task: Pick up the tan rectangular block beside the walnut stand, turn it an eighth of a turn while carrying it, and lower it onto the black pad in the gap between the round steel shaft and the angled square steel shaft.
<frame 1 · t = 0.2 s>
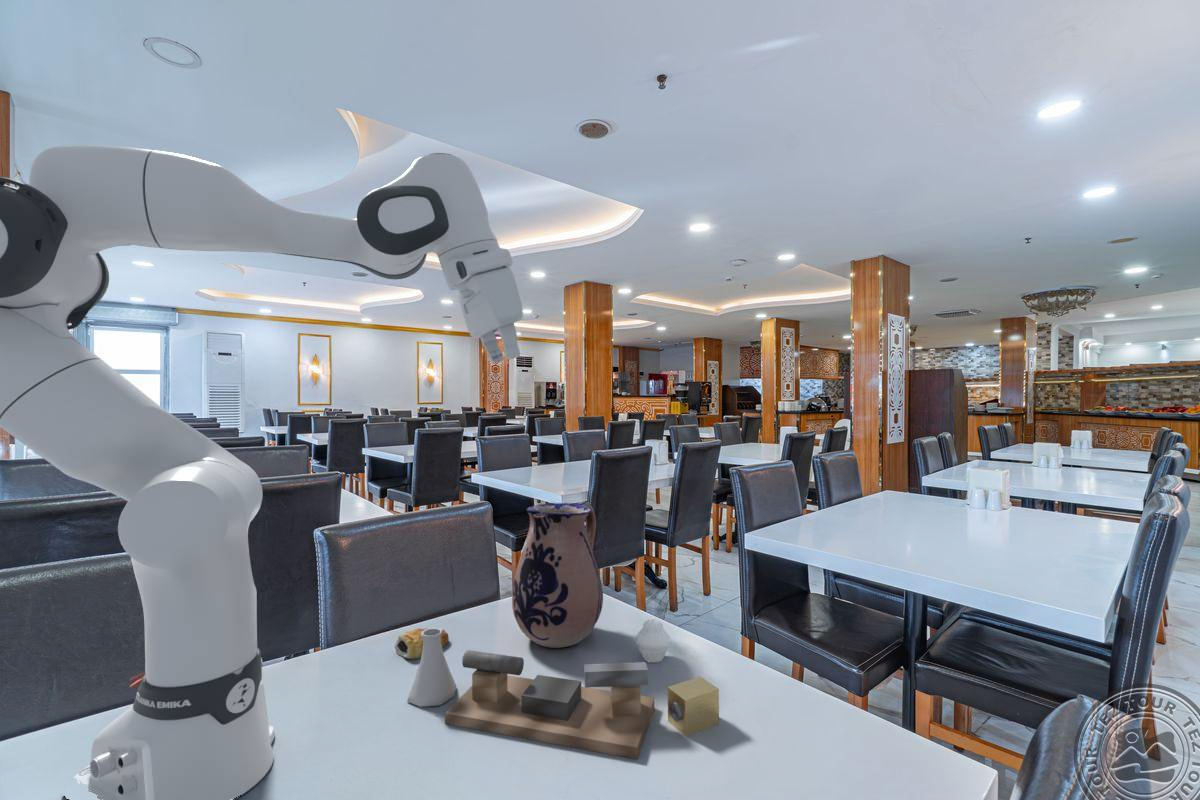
hand: (505, 360, 81), 52 cm above the table, tool tilted 20°, fingers open, 8 cm apart
white rounded piece: (653, 659, 97), on the table
ceramic pitcher: (562, 635, 107), on the table
tan rectangular block: (693, 722, 78), on the table
pastry: (420, 651, 101), on the table
shaft stand: (552, 715, 80), on the table
flask: (432, 696, 85), on the table
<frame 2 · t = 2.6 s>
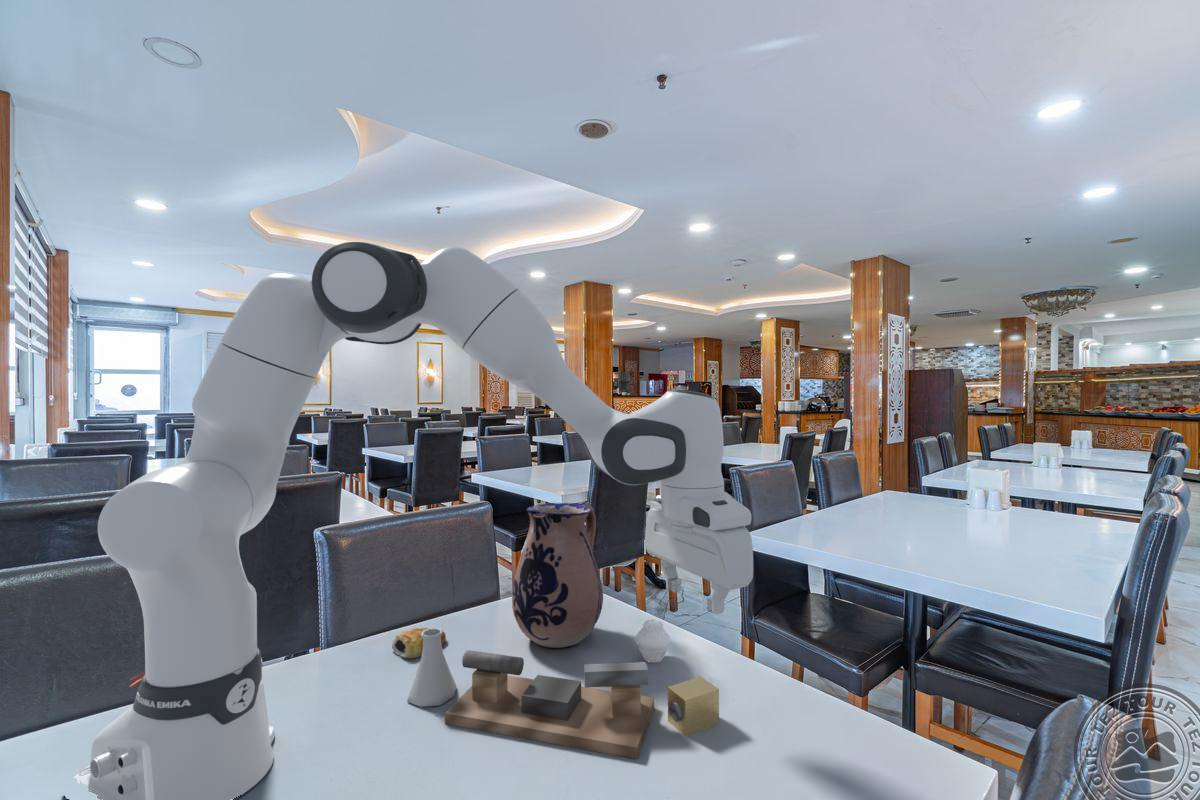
hand: (693, 600, 78), 17 cm above the table, tool pointing down, fingers open, 8 cm apart
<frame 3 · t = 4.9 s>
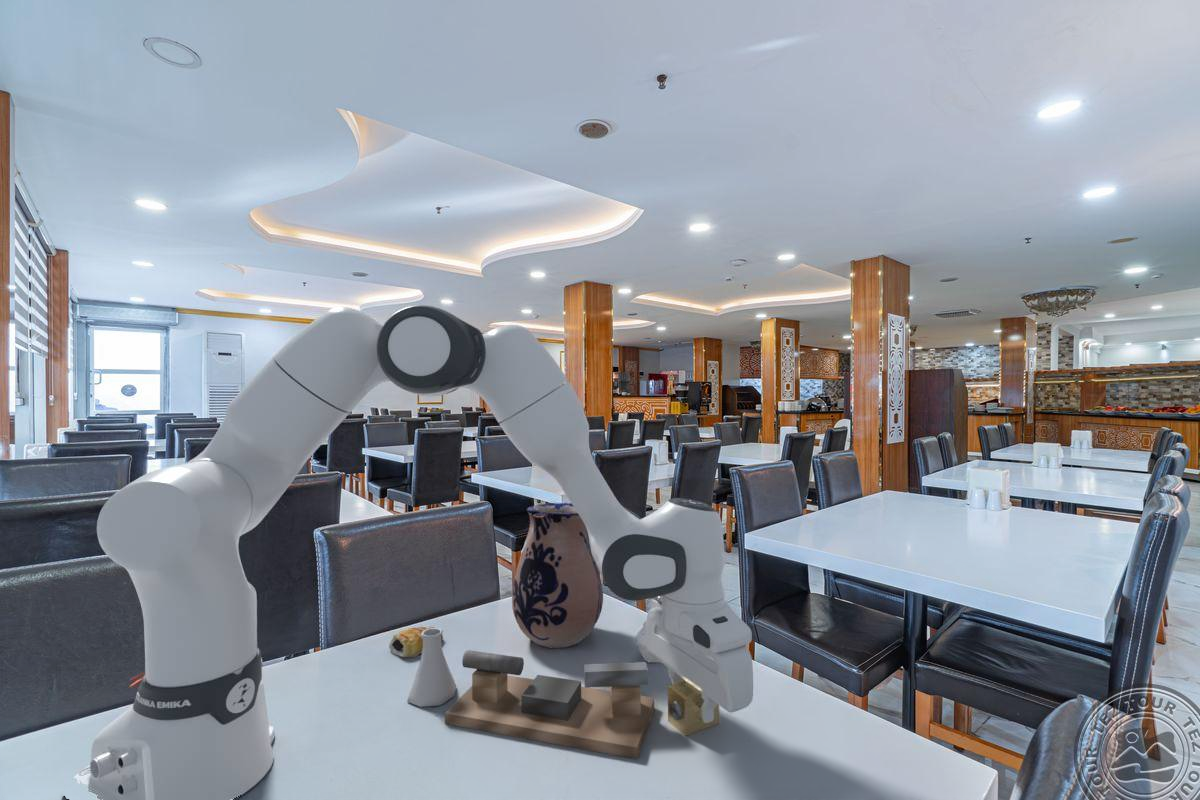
hand: (693, 709, 78), 2 cm above the table, tool pointing down, fingers closed on tan rectangular block, 4 cm apart
tan rectangular block: (693, 721, 78), on the table, touching gripper
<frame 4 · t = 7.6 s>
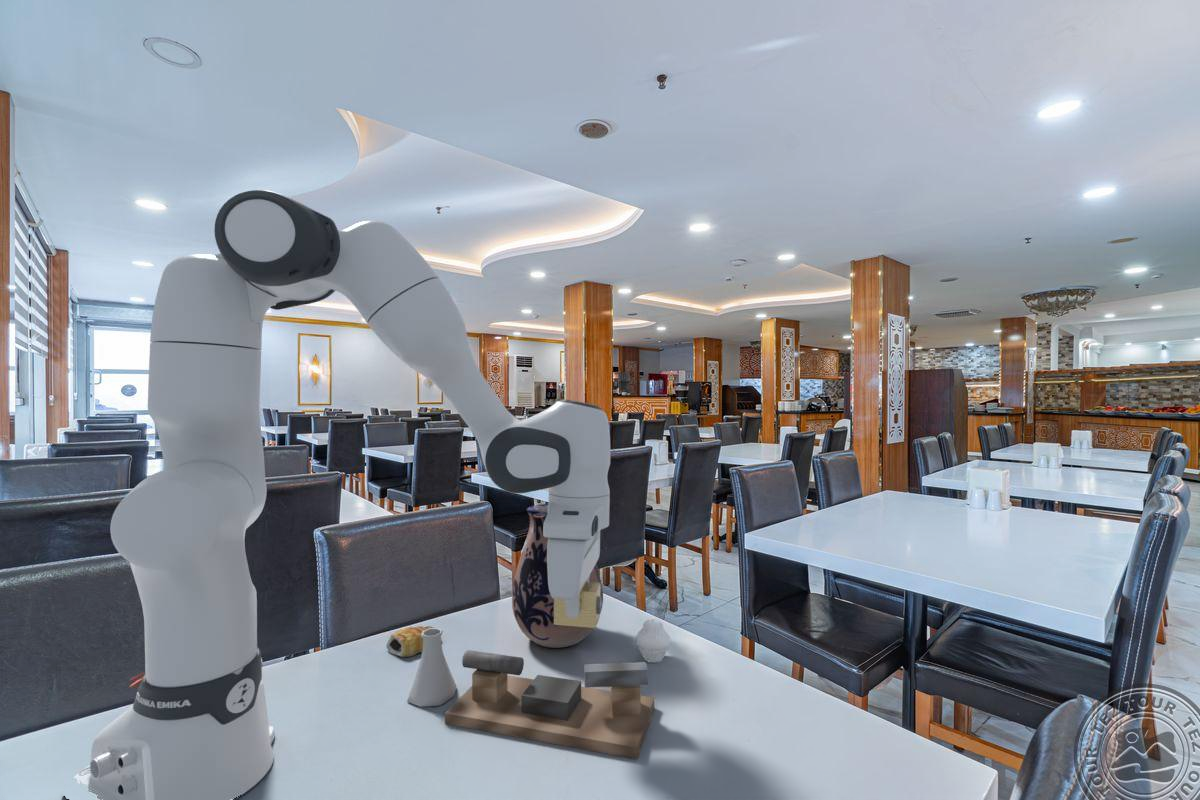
hand: (576, 608, 79), 16 cm above the table, tool pointing down, fingers closed on tan rectangular block, 4 cm apart
tan rectangular block: (577, 620, 79), point 14 cm above the table, touching gripper
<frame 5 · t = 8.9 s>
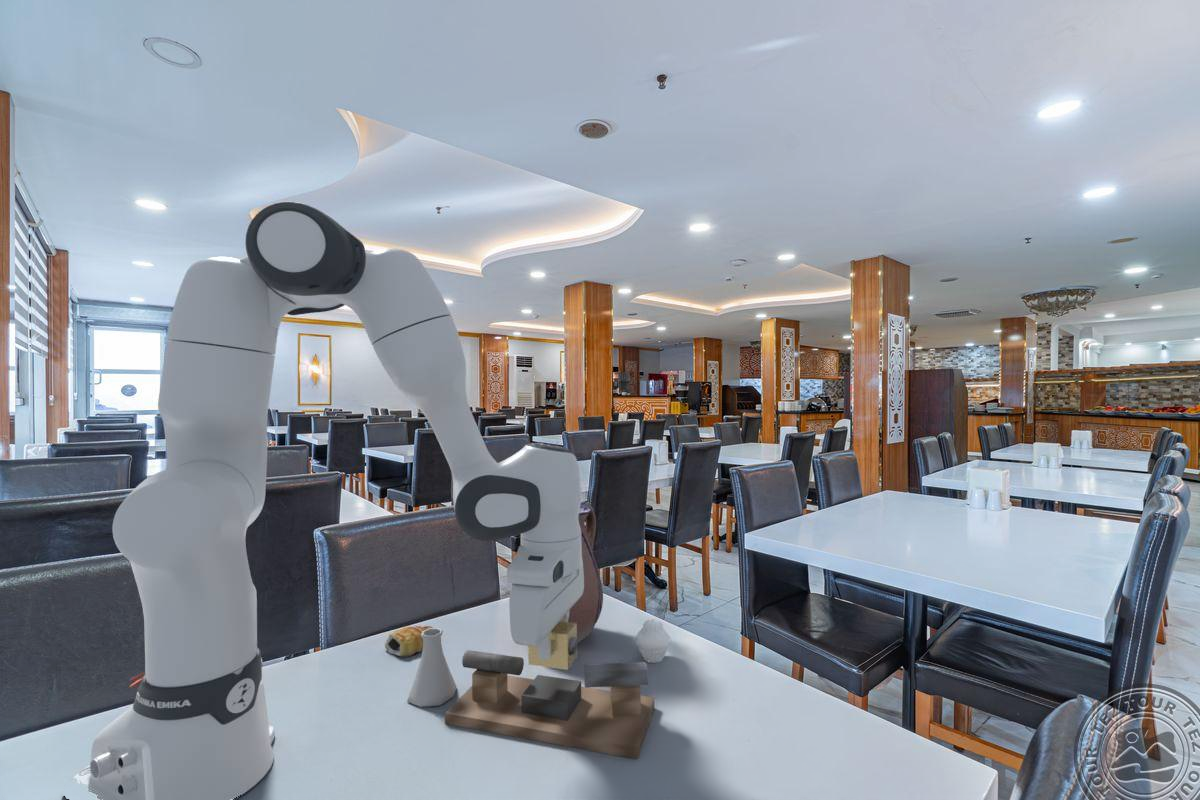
hand: (552, 648, 80), 10 cm above the table, tool pointing down, fingers closed on tan rectangular block, 4 cm apart
tan rectangular block: (553, 660, 80), point 8 cm above the table, touching gripper
when the fingers open (7 cm above the table, at t = 10.2 s): tan rectangular block stays where it is, resting on shaft stand.
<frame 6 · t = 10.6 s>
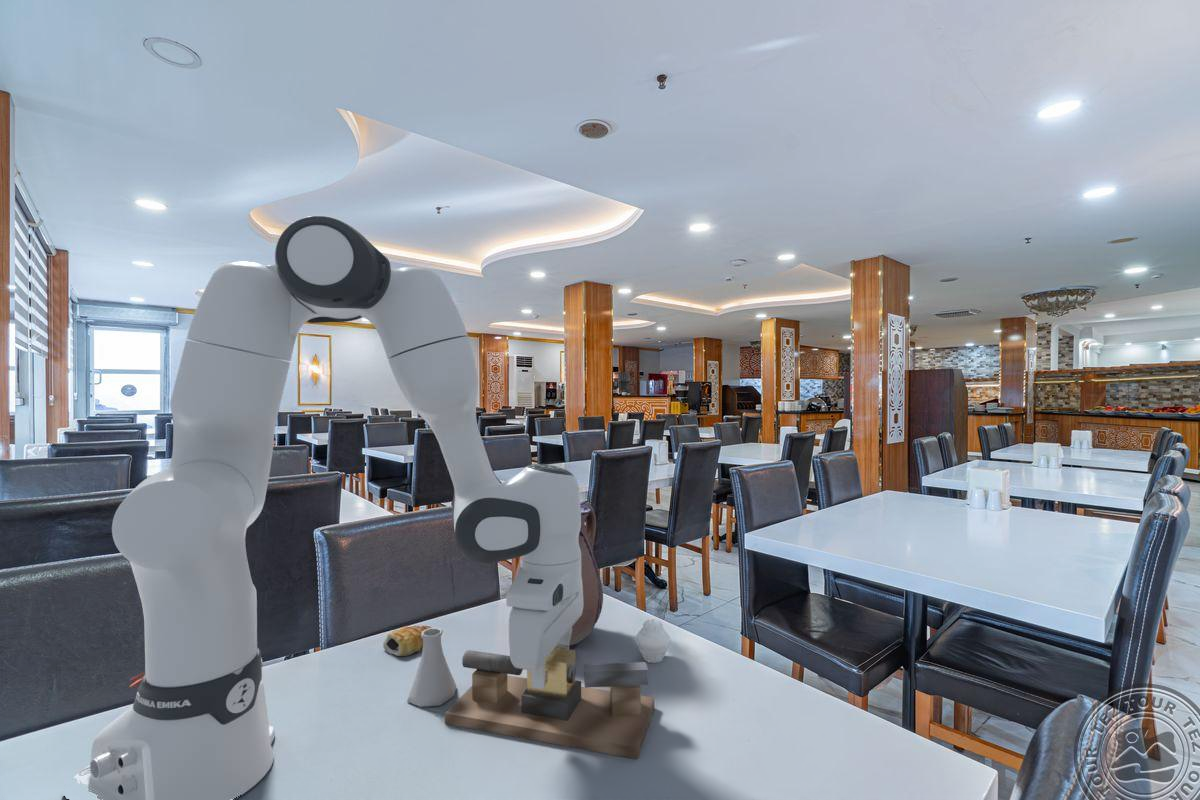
hand: (551, 670, 80), 7 cm above the table, tool pointing down, fingers open, 7 cm apart
tan rectangular block: (551, 688, 80), point 4 cm above the table, touching shaft stand
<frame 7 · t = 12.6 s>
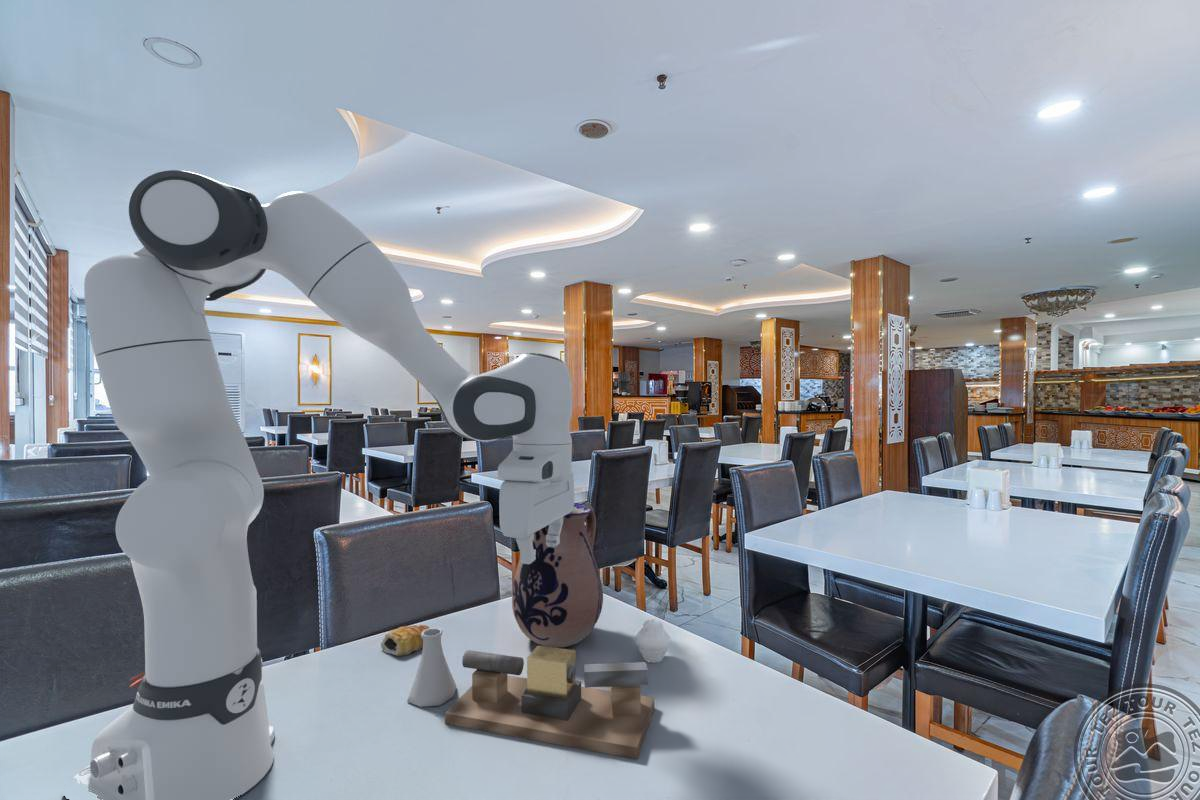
hand: (541, 553, 82), 23 cm above the table, tool pointing down, fingers open, 8 cm apart
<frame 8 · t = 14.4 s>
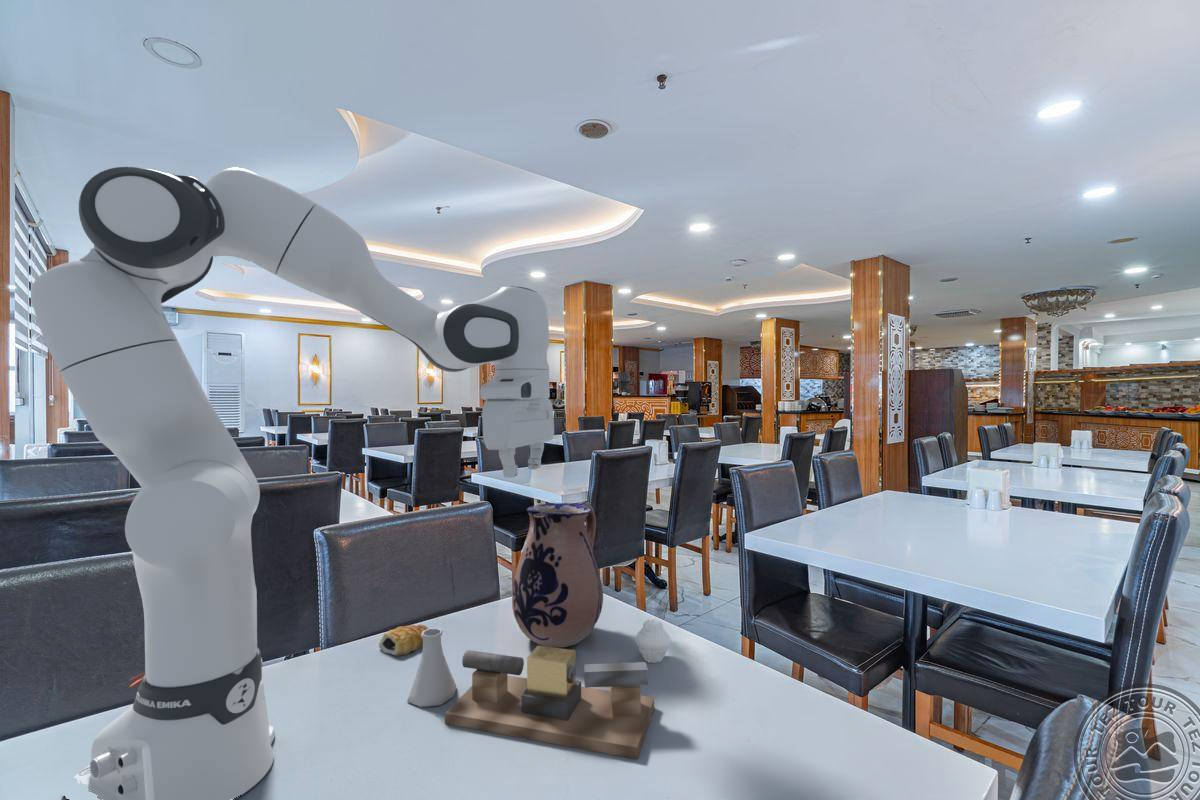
hand: (523, 472, 89), 34 cm above the table, tool pointing down, fingers open, 8 cm apart
at the end: tan rectangular block 0.0 cm off-centre on the shaft stand, point 4.0 cm above the shaft stand's base; tan rectangular block tilted 0°; the gripper is holding nothing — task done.
